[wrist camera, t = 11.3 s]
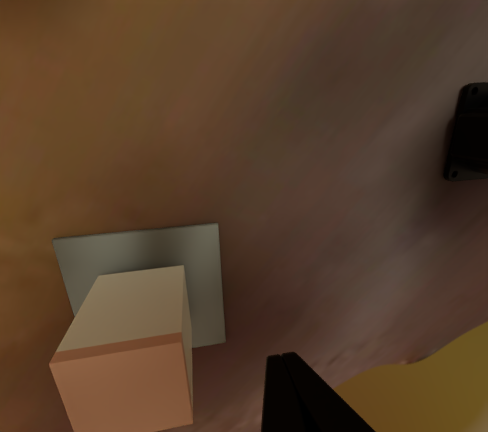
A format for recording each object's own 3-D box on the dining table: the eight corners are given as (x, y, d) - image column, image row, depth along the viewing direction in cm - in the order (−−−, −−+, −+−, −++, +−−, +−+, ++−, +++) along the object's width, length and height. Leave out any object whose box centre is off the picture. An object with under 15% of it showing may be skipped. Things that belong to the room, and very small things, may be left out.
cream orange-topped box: (183, 265, 18) (181, 341, 12) (191, 328, 20) (193, 423, 14) (98, 275, 17) (48, 364, 11) (114, 340, 19) (80, 447, 13)
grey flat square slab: (217, 222, 18) (233, 280, 12) (225, 339, 22) (240, 432, 16) (53, 238, 17) (-30, 314, 10) (90, 361, 20) (44, 476, 14)
